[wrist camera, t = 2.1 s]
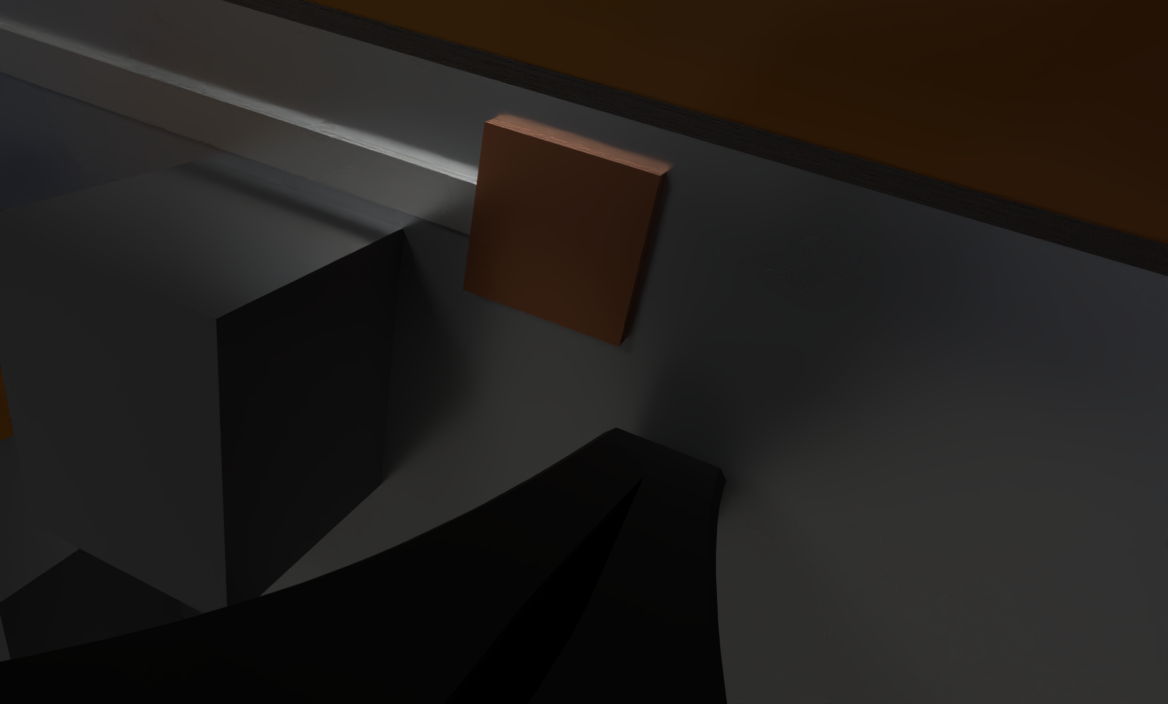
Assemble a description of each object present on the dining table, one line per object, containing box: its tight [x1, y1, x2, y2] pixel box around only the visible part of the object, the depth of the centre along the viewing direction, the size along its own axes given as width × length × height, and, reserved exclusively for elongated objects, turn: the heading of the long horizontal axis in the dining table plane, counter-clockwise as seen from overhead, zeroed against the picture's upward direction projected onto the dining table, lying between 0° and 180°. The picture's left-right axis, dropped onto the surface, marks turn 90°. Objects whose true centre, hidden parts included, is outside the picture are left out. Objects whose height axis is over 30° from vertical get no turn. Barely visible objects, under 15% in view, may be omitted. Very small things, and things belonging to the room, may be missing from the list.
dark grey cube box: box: [0, 158, 403, 613], centre depth 10 cm, size 3×4×3 cm
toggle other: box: [0, 435, 181, 662], centre depth 14 cm, size 3×4×3 cm
